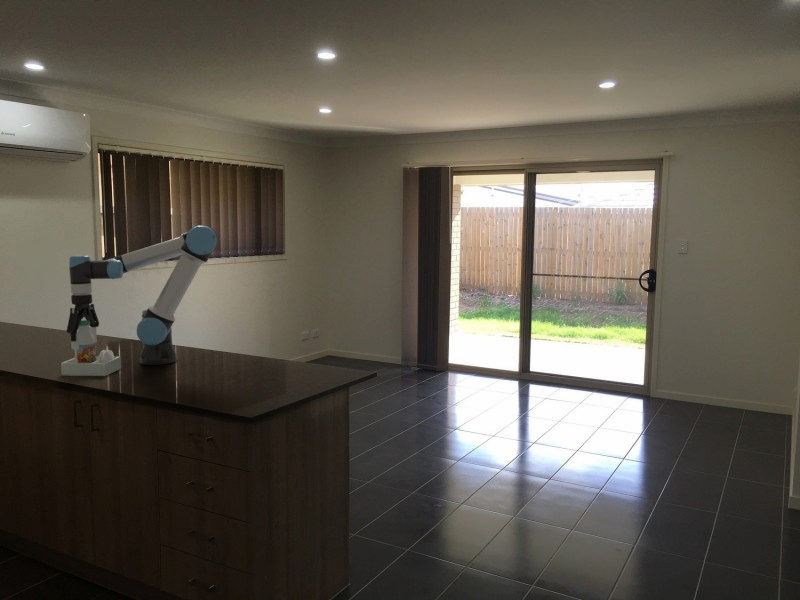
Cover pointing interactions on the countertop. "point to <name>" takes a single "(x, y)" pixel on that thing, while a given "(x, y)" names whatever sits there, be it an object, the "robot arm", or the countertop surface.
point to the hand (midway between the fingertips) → (84, 345)
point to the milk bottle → (85, 344)
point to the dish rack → (93, 365)
